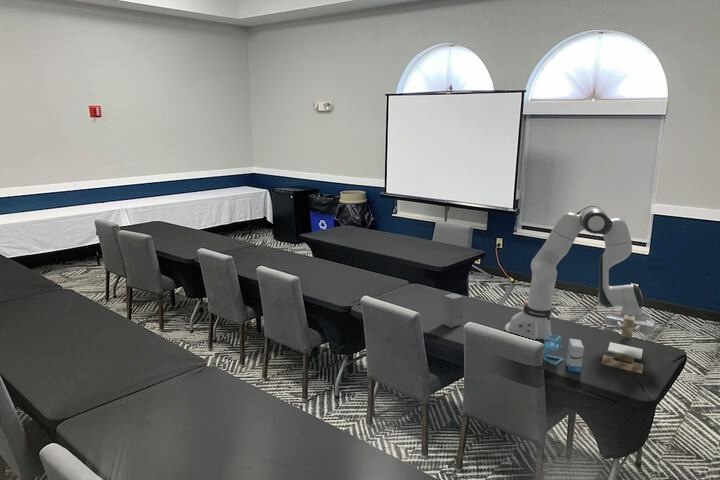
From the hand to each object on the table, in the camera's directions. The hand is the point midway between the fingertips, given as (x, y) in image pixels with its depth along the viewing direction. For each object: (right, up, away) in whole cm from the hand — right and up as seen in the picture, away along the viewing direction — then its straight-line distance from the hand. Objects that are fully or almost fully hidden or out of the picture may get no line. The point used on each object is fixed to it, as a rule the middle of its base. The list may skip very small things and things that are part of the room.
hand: (627, 329), depth 228 cm
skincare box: (-69, -5, +44) cm, 82 cm away
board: (+7, -13, +17) cm, 23 cm away
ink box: (-23, -17, +1) cm, 29 cm away
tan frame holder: (0, -16, +4) cm, 17 cm away
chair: (-31, -15, +7) cm, 35 cm away
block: (0, -7, +2) cm, 7 cm away
